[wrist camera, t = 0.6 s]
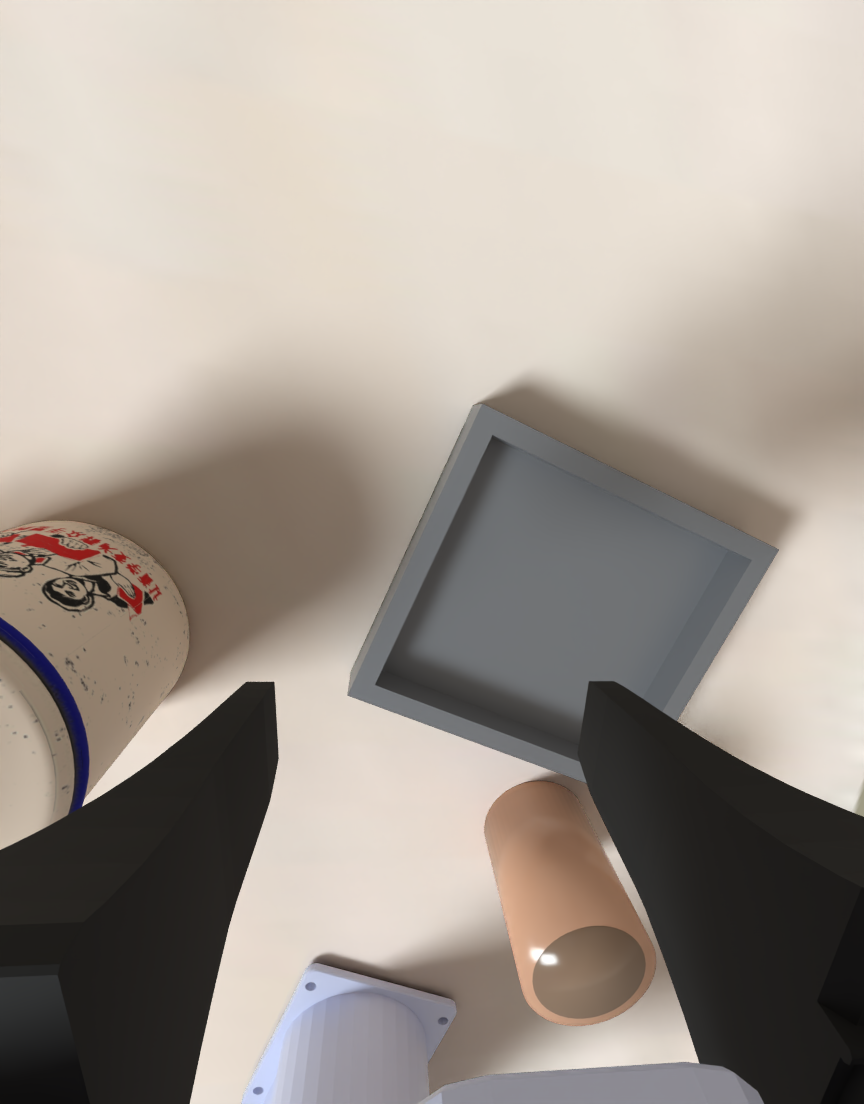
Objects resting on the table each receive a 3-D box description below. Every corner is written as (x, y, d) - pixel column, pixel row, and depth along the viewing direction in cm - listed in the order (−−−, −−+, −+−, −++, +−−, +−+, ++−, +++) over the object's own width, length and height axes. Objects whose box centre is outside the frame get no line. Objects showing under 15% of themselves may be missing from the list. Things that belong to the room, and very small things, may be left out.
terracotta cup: (554, 879, 26) (615, 1040, 19) (467, 850, 25) (497, 1008, 18) (601, 799, 25) (682, 939, 18) (512, 767, 24) (561, 901, 18)
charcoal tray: (610, 769, 25) (629, 799, 23) (350, 671, 23) (347, 695, 21) (745, 538, 23) (779, 549, 21) (473, 405, 20) (482, 403, 19)
